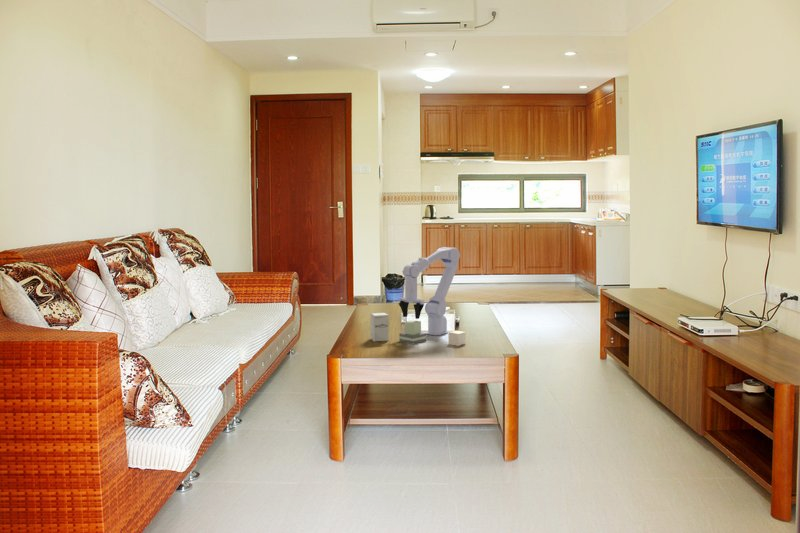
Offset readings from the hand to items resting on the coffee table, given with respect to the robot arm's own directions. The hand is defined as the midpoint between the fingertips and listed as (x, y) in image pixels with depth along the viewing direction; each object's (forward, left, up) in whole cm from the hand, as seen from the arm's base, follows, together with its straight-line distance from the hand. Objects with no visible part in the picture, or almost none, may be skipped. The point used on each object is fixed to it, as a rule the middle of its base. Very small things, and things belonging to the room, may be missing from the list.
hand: (411, 317), depth 329 cm
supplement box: (+13, -9, -10) cm, 19 cm away
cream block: (-3, +25, -10) cm, 27 cm away
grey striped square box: (+5, +5, -10) cm, 12 cm away
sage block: (+5, +5, -6) cm, 9 cm away
